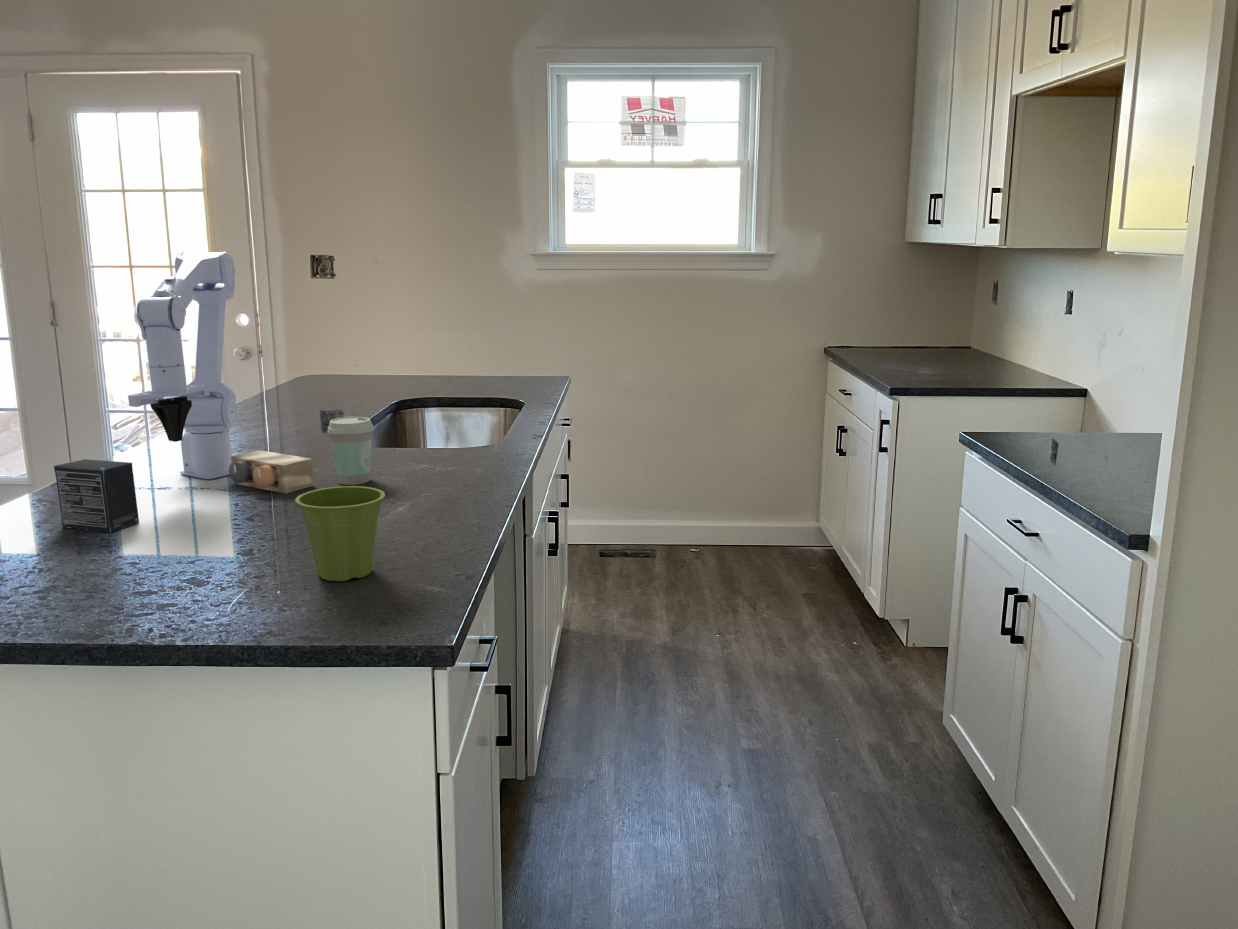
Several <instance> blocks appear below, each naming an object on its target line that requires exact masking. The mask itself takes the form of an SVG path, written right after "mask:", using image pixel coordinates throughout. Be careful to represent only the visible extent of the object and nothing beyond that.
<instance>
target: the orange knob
mask: <svg viewBox="0 0 1238 929" xmlns="http://www.w3.org/2000/svg"><path fill="white" fill-rule="evenodd" d="M253 478H254V481H255V483H256V485H257V486H258V487H260V488H265V487H269V486H272V485H274V483H275V482H276V481H278V480H277V469H276V467H274V466H273V467H270V466H269V465H264V466H260V467H256V468H255V469H254V472H253ZM260 488H259V489H260Z"/></svg>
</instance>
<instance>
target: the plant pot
mask: <svg viewBox="0 0 1238 929" xmlns="http://www.w3.org/2000/svg"><path fill="white" fill-rule="evenodd" d="M385 497H386V493H385V492H384V490H381V489H379V488H375V487H368V486H359V485H344V486H342V485H340V486H333V487H331V486H330V487H324V488H319V489H318V488H317V489H314V490H310V491H307V492H303V493H302V494H300V495H297V497H296V498H295V499H294V502H295V503H296V504H297V505H298V506H299V507H300V510H301V514H302V517H303V518H302V519H303V520H304V521H305V526H306V529H307V534H308V537H309V540H310V541H309V542H310V544H311V550H312V552H313V558H314V562H315V566H316V569H317V574H318V576H319V577H320V578H321V579H323V580H326V581H330V582H331V581H333V582H334V581H335V582H345V581H349V580H352V579H353V578H357V579H363V578H365V577H367V576H368V575H370V573H371V572H372V571H373V570H372V569H373V564H374V563H373V562H374V555H375V547H376V546H375V545H376V538H377V537H376V536H377V529H378V518H379V515H380V513H381V507H382V500H384V498H385Z"/></svg>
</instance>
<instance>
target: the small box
mask: <svg viewBox="0 0 1238 929" xmlns="http://www.w3.org/2000/svg"><path fill="white" fill-rule="evenodd" d="M53 469H54V475H55V479H56V485H57V488H56V489H57V492H58V493H57V494H58V502H59V509H60V515H61V516H60V517H61V518H60V519H61V526H63V527H71V528H79V529H78V530H81V529H88V530H87V531H90V530H95V531H94V532H99V531H103V532H102V533H108V532H110V533H113V532H116V531H118V530H122V529H124V527H125V528H128V527H130V525H131V526H134V525H136V524H139V523H140V519H139V510H138V504H137V502H138V501H137V494H136V488H135V486H136V485H135V479H134V477H135V476H134V470H133V462H128V461H127V462H126V461H125V462H124V461H114V460H113V461H112V460H111V461H110V460H101V459H100V460H99V459H87V458H86V459H81V460H74V461H71V462H67V463H62V464H56V465H54V466H53ZM127 526H128V527H127ZM63 527H62V528H63ZM71 528H70V529H71ZM121 528H122V529H121Z"/></svg>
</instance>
